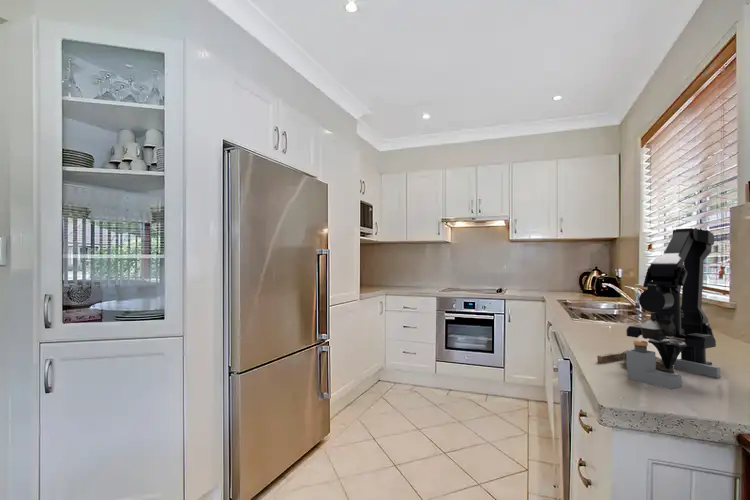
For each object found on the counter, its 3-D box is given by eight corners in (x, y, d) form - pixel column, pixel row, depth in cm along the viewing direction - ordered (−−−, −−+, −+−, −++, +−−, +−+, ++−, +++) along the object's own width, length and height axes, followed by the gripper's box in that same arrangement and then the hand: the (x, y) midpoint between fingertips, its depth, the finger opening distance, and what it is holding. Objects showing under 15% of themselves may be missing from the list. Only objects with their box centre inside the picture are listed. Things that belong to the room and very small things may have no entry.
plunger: (638, 362, 102) (637, 340, 102) (650, 365, 100) (650, 342, 100) (631, 363, 101) (630, 341, 101) (643, 366, 98) (643, 343, 98)
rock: (678, 376, 103) (678, 359, 103) (626, 372, 107) (626, 356, 107) (666, 365, 113) (665, 350, 113) (618, 362, 117) (618, 347, 118)
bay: (675, 367, 111) (675, 342, 111) (720, 377, 101) (719, 349, 102) (626, 377, 101) (626, 350, 101) (671, 389, 92) (670, 359, 92)
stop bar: (619, 358, 121) (618, 352, 121) (623, 359, 119) (623, 353, 119) (597, 362, 116) (597, 355, 116) (602, 363, 115) (601, 356, 115)
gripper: (613, 307, 109) (614, 364, 109) (690, 315, 92) (692, 382, 92) (638, 305, 114) (639, 359, 113) (716, 312, 97) (717, 376, 97)
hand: (668, 368), depth 104 cm, fingers closed
